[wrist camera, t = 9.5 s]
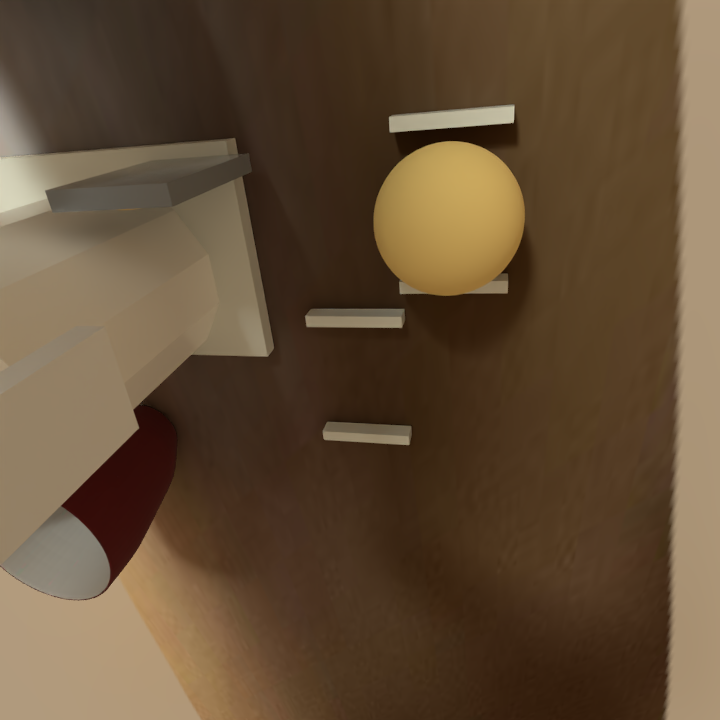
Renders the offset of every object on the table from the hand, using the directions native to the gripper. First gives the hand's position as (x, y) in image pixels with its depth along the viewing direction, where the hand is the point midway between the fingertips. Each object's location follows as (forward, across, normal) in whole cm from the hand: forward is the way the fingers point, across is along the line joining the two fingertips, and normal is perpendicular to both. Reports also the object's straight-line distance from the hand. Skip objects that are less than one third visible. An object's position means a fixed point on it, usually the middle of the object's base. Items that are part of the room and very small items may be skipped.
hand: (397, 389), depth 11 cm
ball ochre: (+16, 0, 0) cm, 16 cm away
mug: (+16, -20, -15) cm, 30 cm away
